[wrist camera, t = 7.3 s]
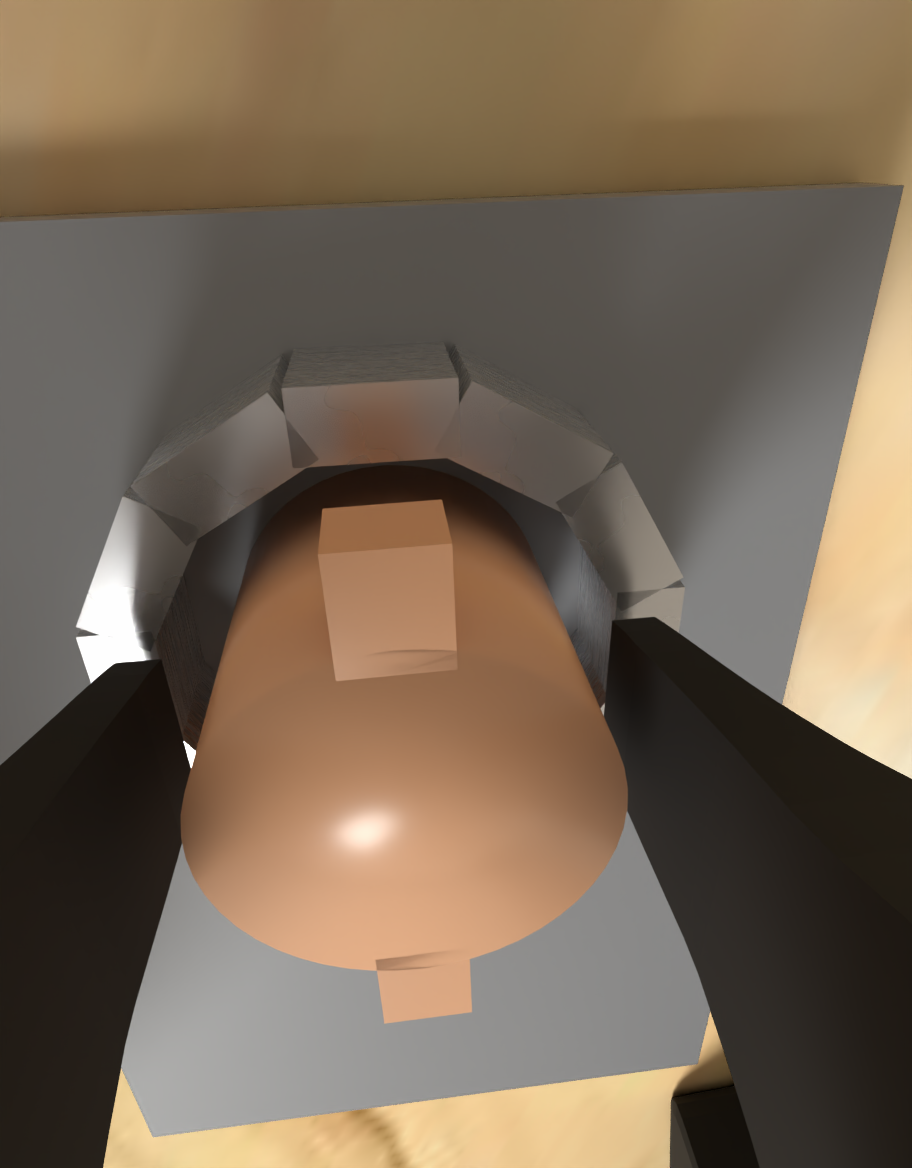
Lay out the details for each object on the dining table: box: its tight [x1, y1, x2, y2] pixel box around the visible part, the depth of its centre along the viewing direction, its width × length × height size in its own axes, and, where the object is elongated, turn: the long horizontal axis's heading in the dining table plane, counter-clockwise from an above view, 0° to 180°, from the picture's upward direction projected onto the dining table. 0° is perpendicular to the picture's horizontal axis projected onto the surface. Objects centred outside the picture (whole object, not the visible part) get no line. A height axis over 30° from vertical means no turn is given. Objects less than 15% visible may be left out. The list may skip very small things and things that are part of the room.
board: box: [0, 183, 904, 1137], centre depth 16 cm, size 15×22×1 cm
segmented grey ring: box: [76, 341, 685, 767], centre depth 12 cm, size 8×8×2 cm
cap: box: [181, 465, 628, 1024], centre depth 11 cm, size 5×7×5 cm
